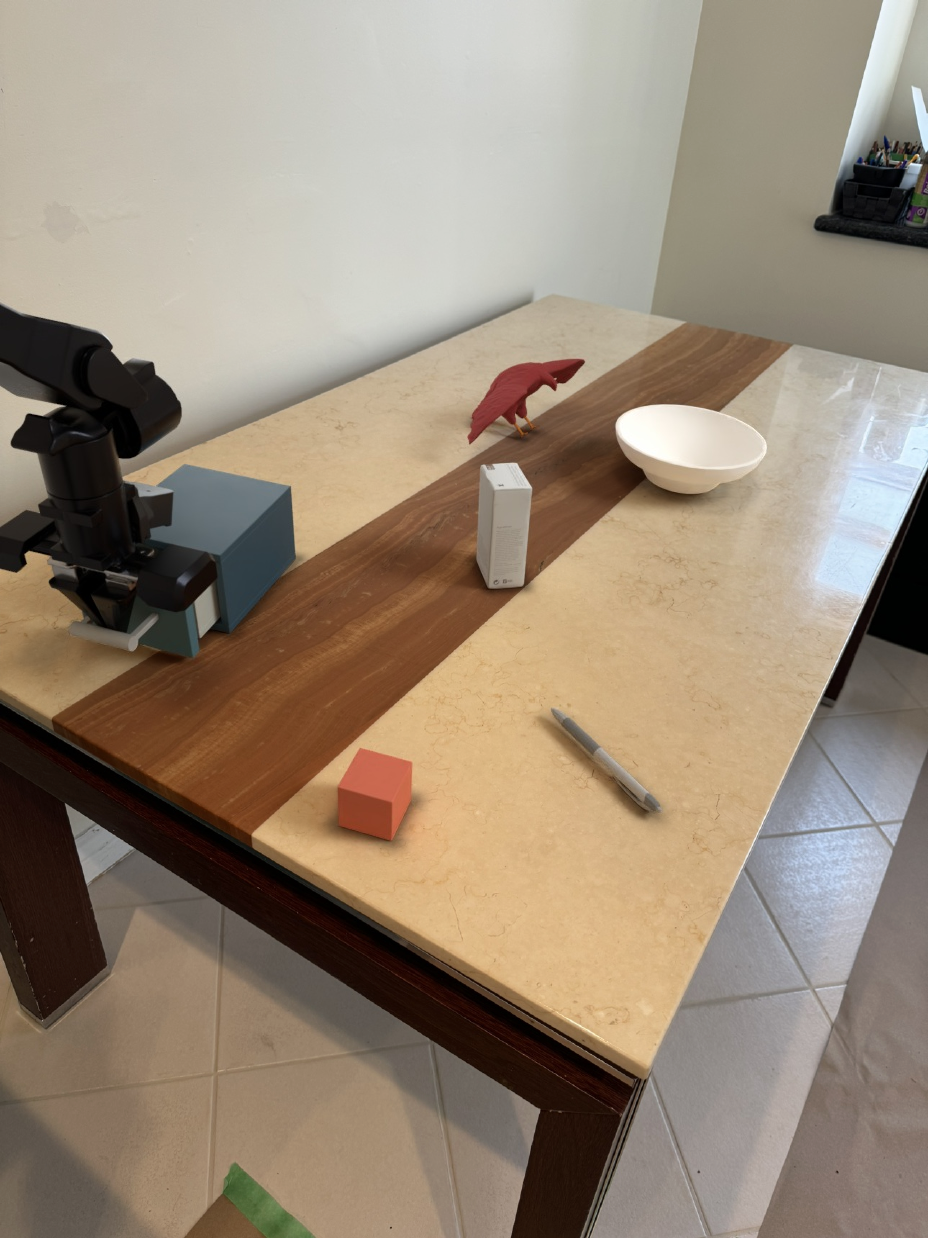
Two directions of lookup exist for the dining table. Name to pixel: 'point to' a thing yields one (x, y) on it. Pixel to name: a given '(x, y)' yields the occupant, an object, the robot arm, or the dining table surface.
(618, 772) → the pen
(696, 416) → the bowl
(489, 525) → the cosmetic box
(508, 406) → the decorative bird sculpture
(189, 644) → the open handled drawer
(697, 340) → the dining table surface
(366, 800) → the terracotta rounded cube
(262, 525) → the cabinet
